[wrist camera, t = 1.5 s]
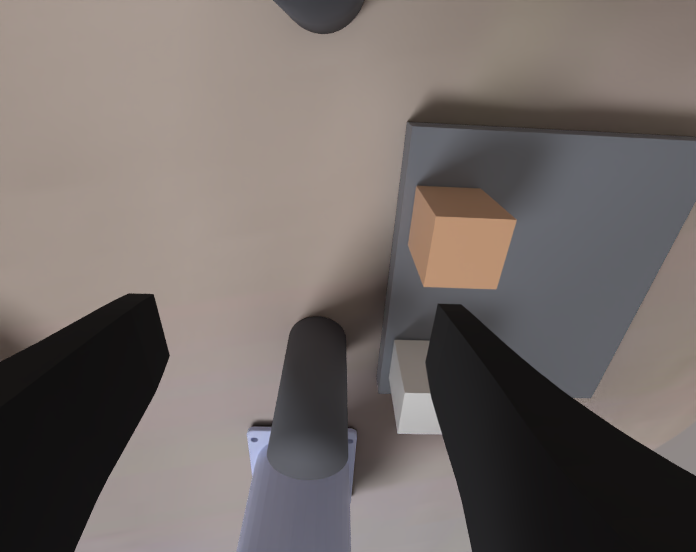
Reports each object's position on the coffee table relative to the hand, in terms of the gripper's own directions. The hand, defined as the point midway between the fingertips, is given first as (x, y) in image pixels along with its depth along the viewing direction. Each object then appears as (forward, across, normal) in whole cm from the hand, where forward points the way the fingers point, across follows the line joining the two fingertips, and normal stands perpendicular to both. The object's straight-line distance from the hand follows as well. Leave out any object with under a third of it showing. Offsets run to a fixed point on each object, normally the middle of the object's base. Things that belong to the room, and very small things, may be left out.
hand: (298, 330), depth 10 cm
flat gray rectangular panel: (+10, -11, +4) cm, 16 cm away
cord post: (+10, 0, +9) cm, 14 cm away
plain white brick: (+9, -6, +9) cm, 14 cm away
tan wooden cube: (+9, -6, 0) cm, 11 cm away
